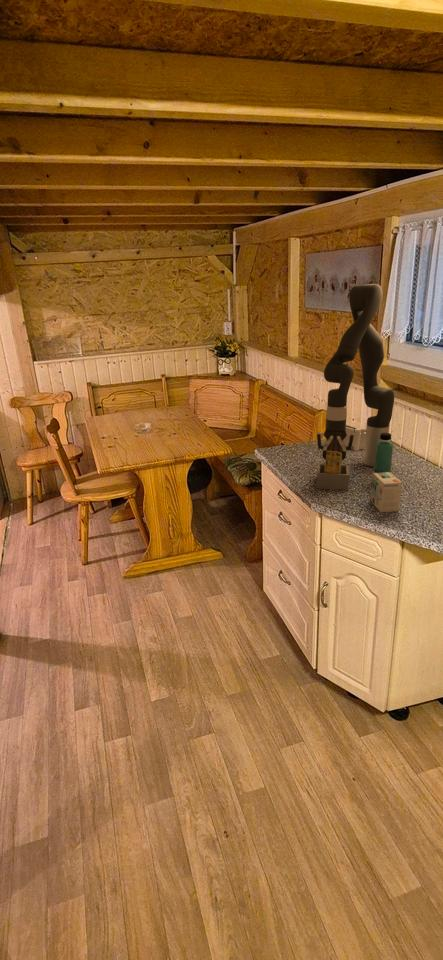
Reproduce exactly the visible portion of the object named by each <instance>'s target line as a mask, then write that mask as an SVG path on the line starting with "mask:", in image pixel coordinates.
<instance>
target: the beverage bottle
mask: <svg viewBox="0 0 443 960" xmlns="http://www.w3.org/2000/svg"><path fill="white" fill-rule="evenodd" d="M380 439H381V440H388V441H380V442H378V443H377V448H376V453H375V455H376V456H375V457H376V458H375V465H374V466H375V467H374V469H373V470H374V471H373V473H384V472H391V473H392V459H393V451H394V450H393V449H394V444H393V443H392V442H391V441H390V440H392V433H390V432H389V433H381V435H380Z"/></svg>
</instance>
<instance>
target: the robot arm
mask: <svg viewBox="0 0 443 960" xmlns="http://www.w3.org/2000/svg"><path fill="white" fill-rule="evenodd" d="M383 293H384V292H383V288H382V287H381V286H380V285H379V284H378V283H370V284H357V285H354V286H352V287H351V289H350V290H349V295H348V297H349V298H348V299H349V306H350V311H351V315H352V318H353V323H352V324H351V325H350V326H349V327H348V328H347V329H346V331H344V334H343V335H342V337H341V339H340V342H339V343H338V346H337V349H336V352H335V353H334V354H333V355H332V357H331V358H330V359H329V361H328V362H327V364H326V366H325V367H324V371H323V377H324V380H325V381H326V382H328V383H334V384H339V387H338V388H333V389H330V390H328V393H327V401H326V402H327V405H326V410H325V411H326V413H325V430H324V432H317V433H316V434H317V435H316V439H317V449H318V450H322V458H323V460H324V461H325V460H326V451H327V447H328V446H329V444H330V442H331V441H332V439H333V435H332V432H341V434H340V436H337V439H338V441H339V443H340V445H341V447H342V449H343V450H342V461H344V460H346V458H347V457H346V456H347V451H351V447H352V443H353V438H354V435H353V433H351V434H347V433H346V425H347V418H348V415H347V414H348V409H347V403H348V394H349V391H350V388H351V384H352V381H353V378H354V368H353V366H352V365H351V364H348V362H352V361H354V359H355V358H356V356H357V353H359V359H360V363H361V372H362V380H363V381H362V382H363V383H362V385H363V399H364V403H365V405H366V406H367V407H368V408H370V409H374V410H377V413H376V415H373V416H369V417H368V418H367V419H366V427H365V429H366V432H365V434H366V439H365V445H364V447H365V450H363V452H364V453H363V464H364V465H365V466H368V467H373V468H375V466H374V465H375V458H376V457H375V456H376V455H375V453H376V448H377V443H378V442H380V441H389V440H381V439H380V435H381V433H390V432H389V431H390V423H391V420H392V416H393V411H394V403H395V392H394V391H393V389H391V388H389V387H388V388H387V387H384V386H379V384H378V373H379V372H378V371H379V370H380V368H381V367H382V364H383V362H384V358H385V351H384V343H383V339H382V337H381V335H380V334H379V332H378V331H377V329H376V328H375V327H374V326H373V325H372V321H373V319H374V318H375V315H376V314H377V312H378V311H379V309H380V306H381V304H382V302H383ZM346 436H347V437H348V440H349V443H348V446H345V444H344V442H343V440H344V439H345V437H346ZM323 437H324V438H325V439H326V441H325V442H324V444H323V445H322V439H323Z"/></svg>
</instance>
